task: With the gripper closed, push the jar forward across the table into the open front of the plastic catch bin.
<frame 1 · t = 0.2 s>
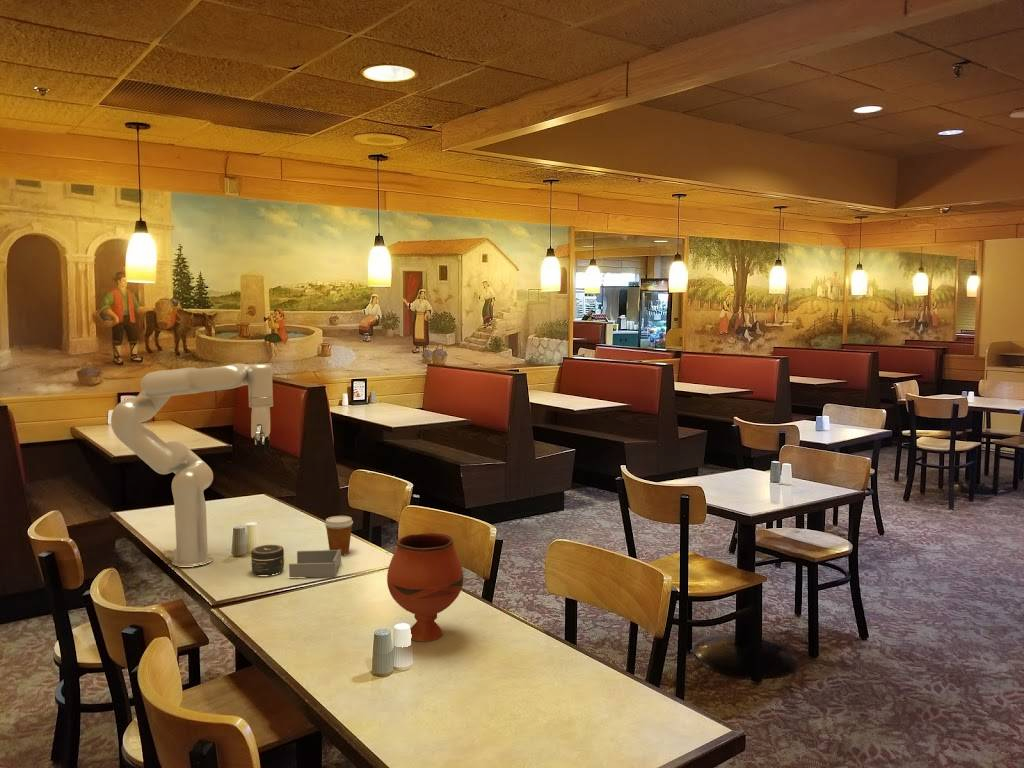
hand: (262, 453, 260), 36 cm above the table, tool pointing down, fingers open, 9 cm apart
goblet: (425, 635, 203), on the table
catch bin: (316, 570, 253), on the table
disposable coffee cup: (339, 553, 271), on the table
jar: (268, 572, 252), on the table
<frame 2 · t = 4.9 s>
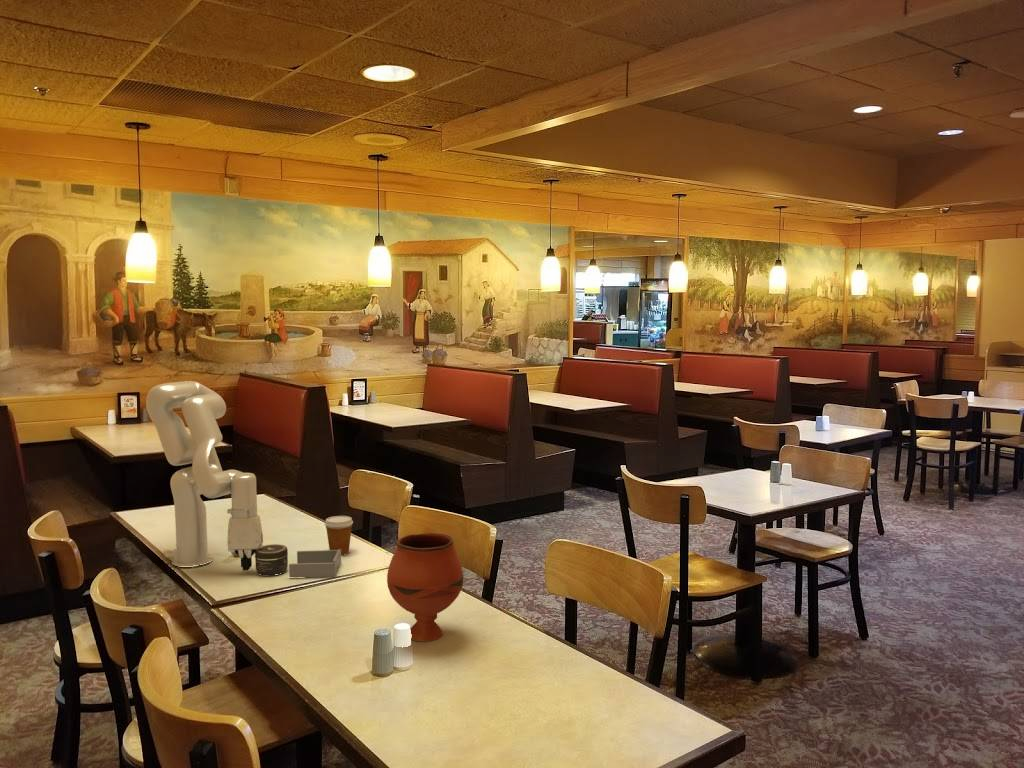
hand: (246, 569, 251), 1 cm above the table, tool pointing down, fingers closed
jar: (271, 572, 252), on the table, touching gripper
everything else where it was.
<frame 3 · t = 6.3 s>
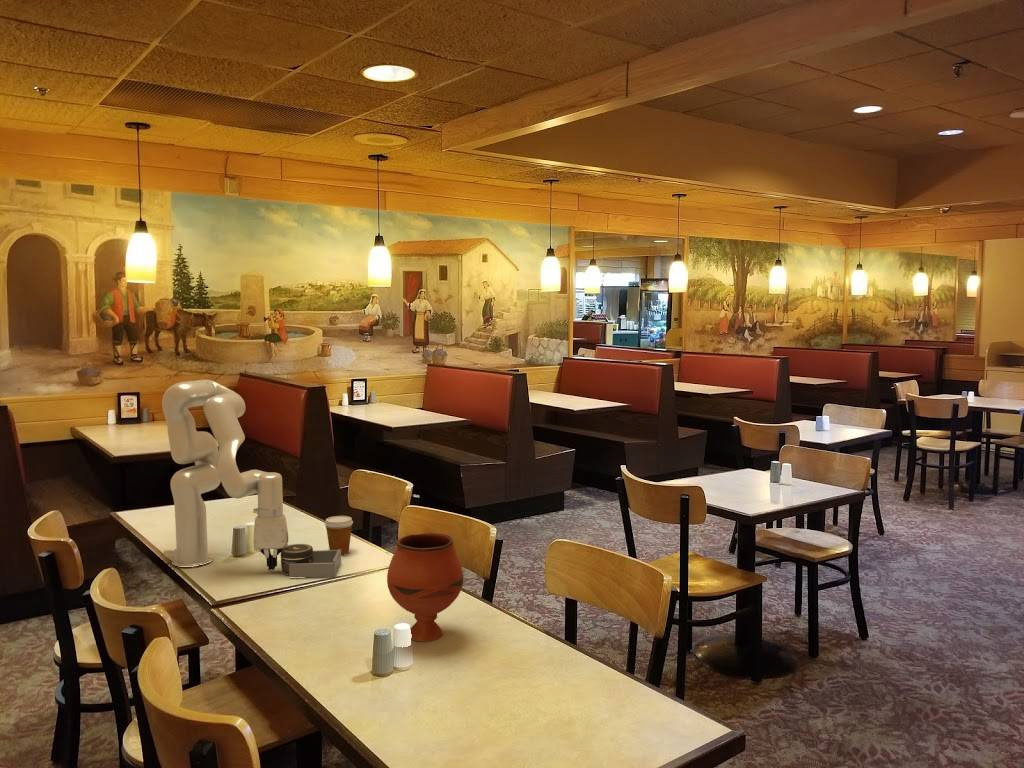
hand: (272, 568, 252), 1 cm above the table, tool pointing down, fingers closed
jar: (297, 571, 252), on the table, touching gripper
everything else where it was.
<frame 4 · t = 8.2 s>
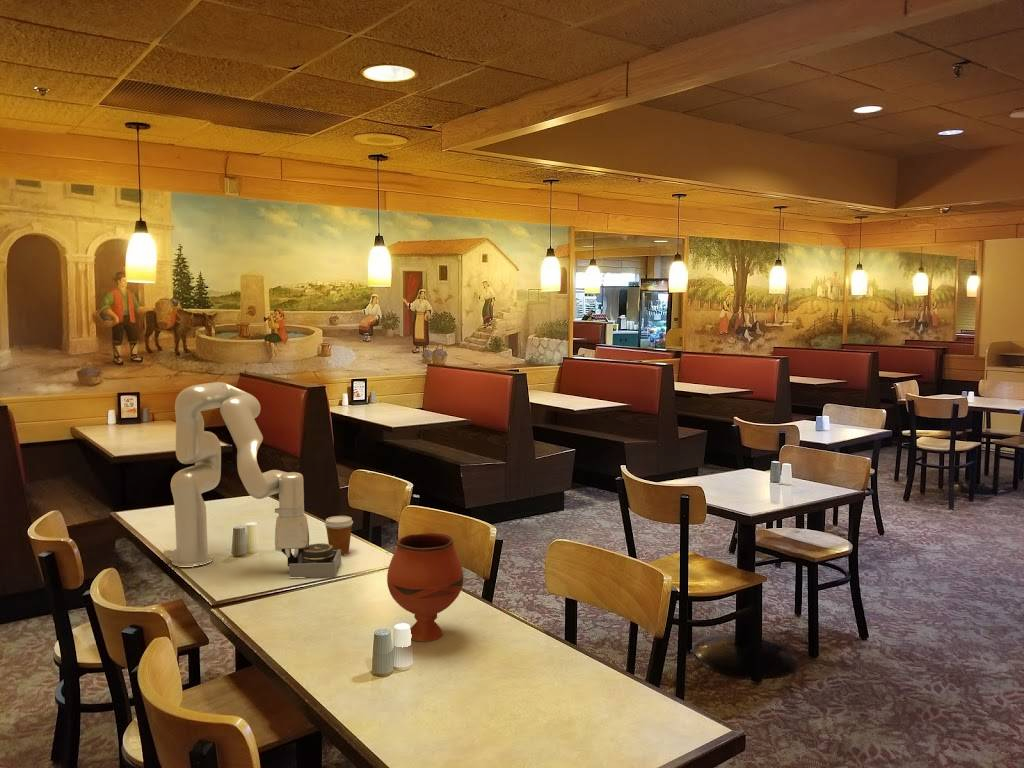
hand: (293, 568, 252), 1 cm above the table, tool pointing down, fingers closed
jar: (318, 571, 253), on the table, touching gripper
everything else where it was.
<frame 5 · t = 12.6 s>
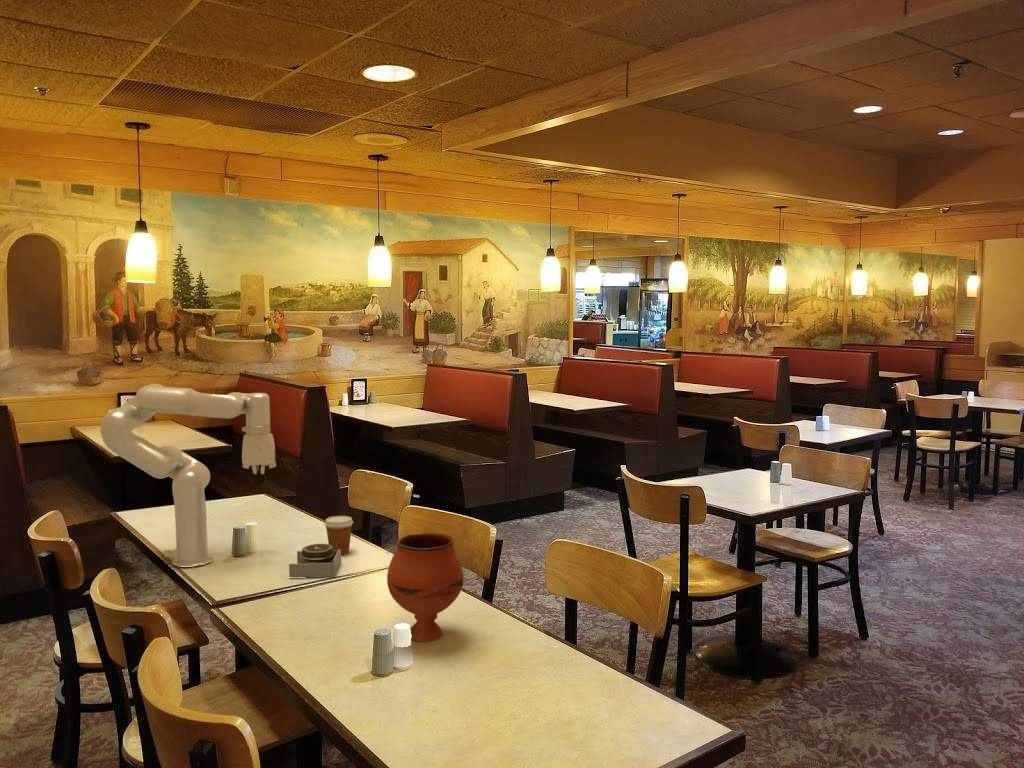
hand: (260, 485, 263), 25 cm above the table, tool pointing down, fingers closed
jar: (318, 571, 253), on the table
everything else where it was.
at the end: jar inside the target area (0.5 cm from its centre), on the table; jar tilted 0° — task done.
